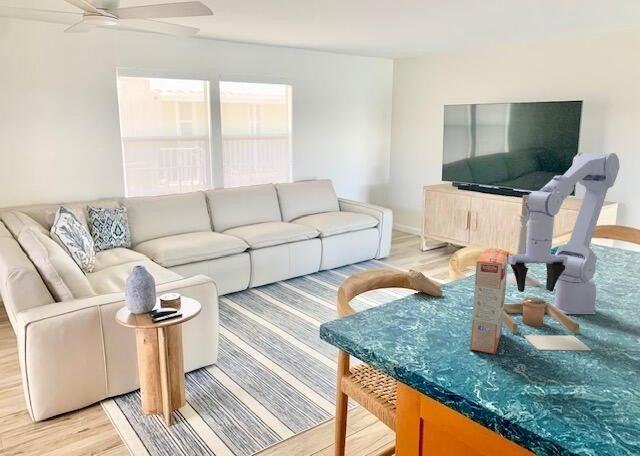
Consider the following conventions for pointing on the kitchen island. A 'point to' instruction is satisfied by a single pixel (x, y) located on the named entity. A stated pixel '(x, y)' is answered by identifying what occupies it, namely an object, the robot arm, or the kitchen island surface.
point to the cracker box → (489, 300)
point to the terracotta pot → (533, 311)
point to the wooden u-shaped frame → (549, 309)
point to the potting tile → (556, 342)
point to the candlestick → (522, 247)
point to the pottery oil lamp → (423, 283)
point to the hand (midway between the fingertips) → (535, 290)
